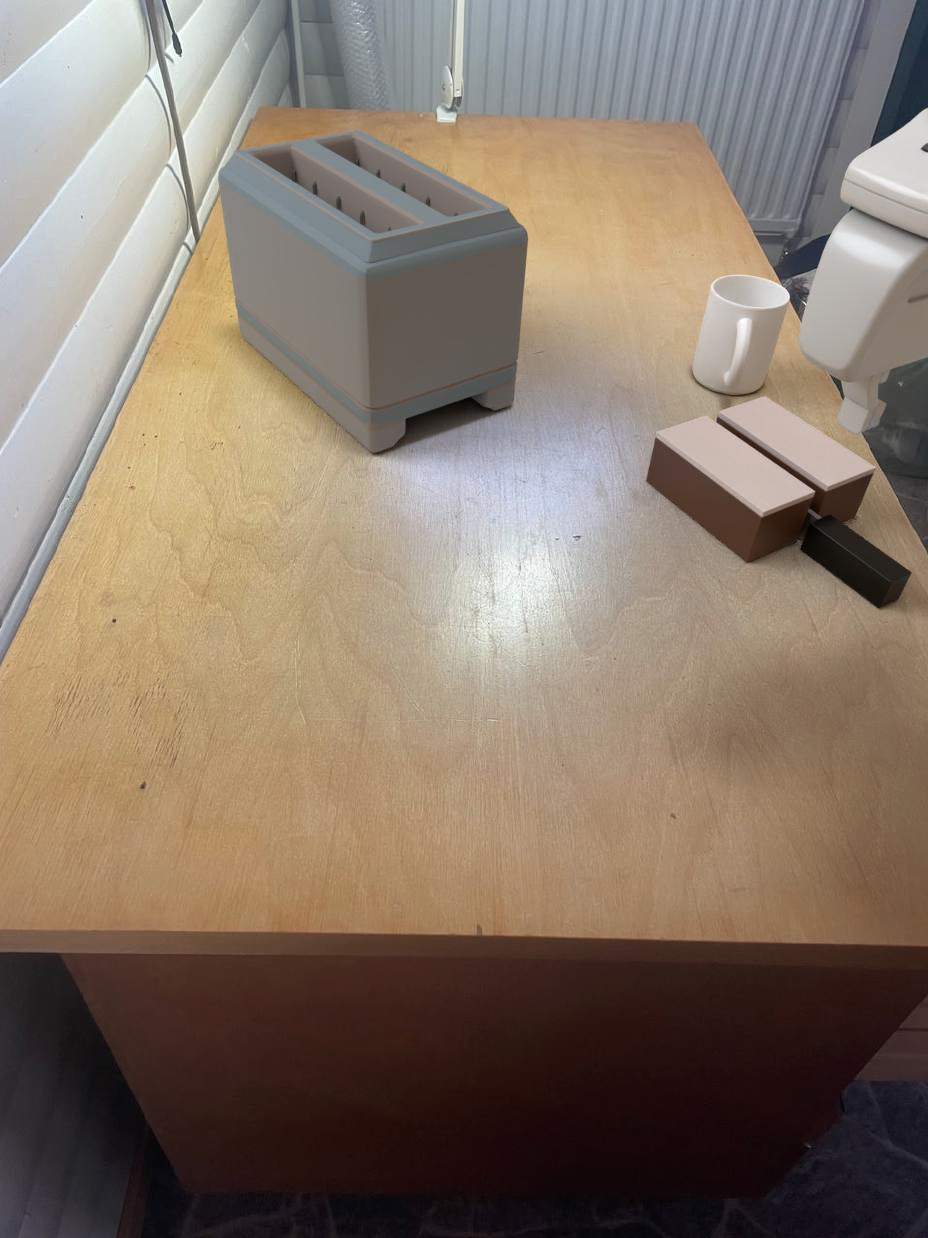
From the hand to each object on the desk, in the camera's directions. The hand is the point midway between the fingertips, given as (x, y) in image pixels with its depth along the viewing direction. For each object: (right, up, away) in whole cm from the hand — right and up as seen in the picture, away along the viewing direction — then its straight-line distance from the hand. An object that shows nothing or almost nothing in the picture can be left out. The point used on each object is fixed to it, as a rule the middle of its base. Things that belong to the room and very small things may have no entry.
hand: (910, 407), depth 55 cm
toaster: (-38, +16, +48) cm, 64 cm away
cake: (+1, -1, +33) cm, 33 cm away
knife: (+4, -5, +29) cm, 30 cm away
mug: (+3, +13, +48) cm, 50 cm away
